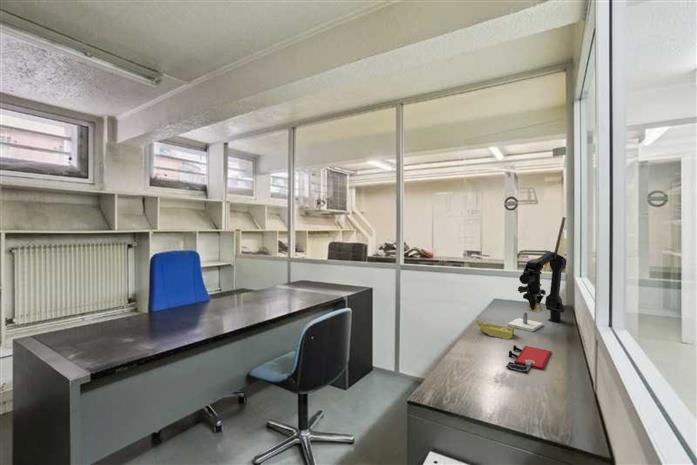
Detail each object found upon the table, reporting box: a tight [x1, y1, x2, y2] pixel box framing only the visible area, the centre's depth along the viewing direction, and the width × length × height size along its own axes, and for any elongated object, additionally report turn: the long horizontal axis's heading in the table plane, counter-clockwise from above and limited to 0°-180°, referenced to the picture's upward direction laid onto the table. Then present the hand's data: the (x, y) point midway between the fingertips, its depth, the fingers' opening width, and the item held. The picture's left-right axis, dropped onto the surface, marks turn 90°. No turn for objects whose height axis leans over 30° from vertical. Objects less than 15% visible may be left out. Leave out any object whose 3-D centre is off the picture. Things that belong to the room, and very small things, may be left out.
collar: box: [526, 302, 543, 313], centre depth 195 cm, size 6×6×4 cm
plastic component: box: [475, 318, 515, 340], centre depth 188 cm, size 20×7×10 cm
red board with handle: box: [505, 344, 552, 373], centre depth 153 cm, size 30×3×15 cm
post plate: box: [507, 311, 544, 332], centre depth 199 cm, size 15×14×8 cm
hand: (534, 308), depth 195 cm, fingers closed on collar, 6 cm apart
